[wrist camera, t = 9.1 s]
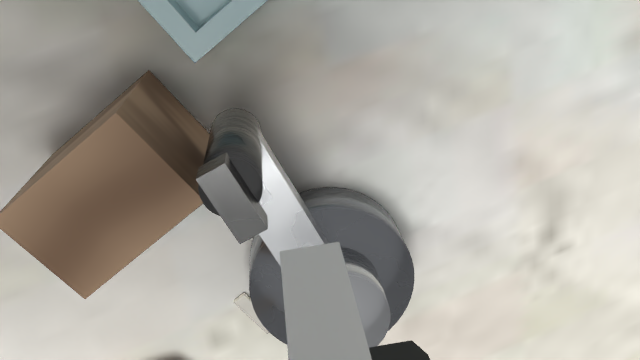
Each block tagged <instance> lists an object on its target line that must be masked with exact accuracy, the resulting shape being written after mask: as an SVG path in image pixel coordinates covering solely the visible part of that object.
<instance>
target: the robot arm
mask: <svg viewBox="0 0 640 360" xmlns="http://www.w3.org/2000/svg"><path fill="white" fill-rule="evenodd" d="M280 261H281V273H282V286H283V298H284V310H285V322H286V334H287V346H288V358H289V360H430V358H429V356H428V354H427V353H425V352H424V351H423V350H422V349H421V348H420V347H419V346H417V345H416V344H415V343H414V342H413V341H406V342H400V343H394V344H388V345H382V346H376V347H370V348H369V347H368V344H367V340H366V336H365V333H364V329H363V326H362V322H361V318H360V315H359V311H358V308H357V304H356V300H355V297H354V293H353V290H352V286H351V282H350V279H349V275H348V272H347V268H346V264H345V261H344V257H343V254H342V250H341V246H340V243H339V242H334V243H328V244H322V245H316V246H309V247H303V248H297V249H290V250H284V251H280Z"/></svg>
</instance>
